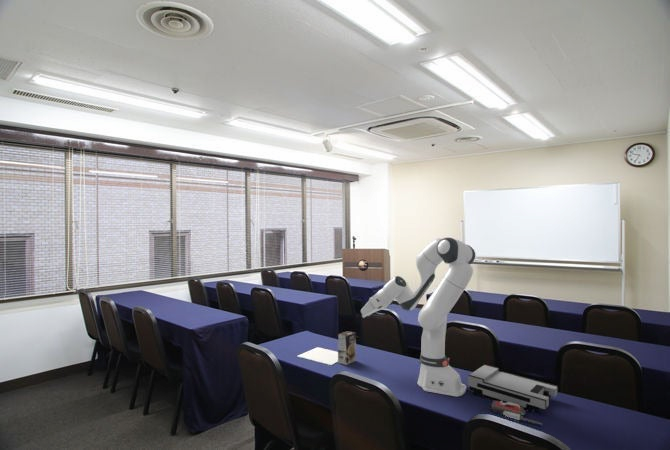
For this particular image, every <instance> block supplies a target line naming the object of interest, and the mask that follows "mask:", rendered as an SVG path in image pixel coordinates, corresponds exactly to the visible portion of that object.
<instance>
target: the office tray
mask: <svg viewBox="0 0 670 450" xmlns="http://www.w3.org/2000/svg"><path fill="white" fill-rule="evenodd" d="M467 386H468V388H469V390H470V391H472V393H473V395H476V396H479V397H482V398H485V399H487V400H491V401H494V400H495V401H500V402H501V401H502V402H504V403H507V402H511V403H514V404H519V405H520V407H523V408H524V410H528V411H531V412H533V413H534V411H537V412H540V410H541V409H542V410H546V409H547V408H548V407H549V406H550V405H549V404H550V398H551V397H553V398H556V397H557V395H558V394H559V385H556V384H553V383H548V382H545V381H541V380H538V379H534V378H529V377H526V376H521V375H519V374H515V373H511V372H507V371H503V370H500V367H497V366H494V365H489V364H486V363H485V364H483V365H482V366H480V367H479V368H477V369H476V370H475V371H473V372H471V373H469V374H468V375H467ZM533 410H534V411H533ZM528 411H527V412H528ZM531 412H530V413H531Z"/></svg>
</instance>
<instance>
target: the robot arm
mask: <svg viewBox="0 0 670 450" xmlns="http://www.w3.org/2000/svg"><path fill="white" fill-rule="evenodd" d="M475 259H476V252H475V249H474V248H473V247H472V246H471V245H469V244H466V243H464V241H461V240H459V239H455V238H453V237H443V238H435V239H433V240H431V242H430V243H428V244H427V245H426V246H425V247H423V248H422V249H421V251H420V252H419V253H418V254H417V256H416V257H415V265H416V268H417V271H418V273H419V276H420V283H419V285H418V286H417V287H416V289H415V291H414V292H413V291H412V290H411V288H410V287H409V286H408V284H407V282H406V280H405V279H404V278H403V277H402V276H399V275H397V276H394V277H392V278H390V279H389V280H388V282H386V283H385V284H384V285H383V287H382V288H381V289H379V290H378V291H377V292H376V293H375V294H374V295H372V296H371V297H369V299H368V301H367V302H366V303H365V305H364V306H363V307H362V308H361V309H360V313H361V317H362V318H363V319H365V318H366V317H369V316H371V315H372V314H373V313H376V312H379V311H381V310H384V309H386V308H387V307H389V305H390V304H391V303H393V300H396V302H397V303H398V304H399V306H400V307H401V309H402V310H404V311H407V312H408V311H409V312H410V311H412V310H414V309H415V308H416V307H417V306H418V303H419V302H420V300H421V299H422V297H423V296H424V295H425V293H426V292H427V291H428V289H429V288H430V286H431V284H433V281H434V280H435V278H436V274H435V273H436V269H437V267H438V266H439V265H440V264H441V263H442V262H444V263H445V264H447V265H448V269H447V271H446V272H445V274H444V276H443V277H442V278H441V280H440V281H439V283H438V285H437V286H436V288H435V289H434V291H433V292H432V294H431V295H430V296H429V297H428V299H427V300H426V302H425V303H424V304H423V306H422V307H421V309H420V311H419V312H418V315H417V316H418V317H417V322H418V324H419V325H420V327H422V334H421V337H420V338H421V339H420V340H421V344H420V345H421V346H420V347H421V348H420V349H421V350H420V351H421V352H420V356H419V365H420V368H419V369H420V370H419V375H418V379H417V383H416V384H417V385H418V386H419V387H421V388H422V389H423V391H425V392H428V393H429V392H430V393H435V394H439V395H446V396H452V397H461V396H463V395H464V394H465V393H466V392H467V386H466V384H464V383H462V378H461V376H460V374H459V372H457V371H456V370H455V369H454V368H453V367H452V366H451V365H450V362H449V361H450V357H447V356H446V354H445V353H446V351H445V349H446V348H445V347H446V344H445V343H446V334H447V322H448V315H449V314H450V311H452V309H453V307H454V306H455V305H456V303H457V302H458V301H459V298H460V297H461V295H462V294H463V292H464V291H465V289H466V288H467V286H468V284H469V283H470V281H471V278H472V276H473V275H474V268H473V267H472V263H474V261H475Z"/></svg>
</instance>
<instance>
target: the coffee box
mask: <svg viewBox="0 0 670 450" xmlns="http://www.w3.org/2000/svg"><path fill="white" fill-rule="evenodd" d="M337 342H338V343H337V352H338V362H337V363H338V364H340V365H341V364H342V365H345V366H348V365H350V364H351V363H355V362H356V359H357V354H356V352H357V347H356V346H357V332H356V331H355V332H354V331H350V330H349V331H348V330H347V331H343V332H341V333H338V340H337Z"/></svg>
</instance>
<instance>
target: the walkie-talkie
mask: <svg viewBox="0 0 670 450" xmlns="http://www.w3.org/2000/svg"><path fill="white" fill-rule="evenodd" d="M490 405H491V406H488V408H487V409H488V410H489V411H491V410H492V411H494V412H493V413H495V412H498V413H497V414H499V413H502V414H503V416H504V415H505V416H504V417H506V416H507V417H510V418H514V419H517V420H520V421H521V420H524V422H526V421H528V422H527V423H530V422H532V423H531V424H536V425H539V426H540V425H541V426H543V422H540V421H536V420H532V419H528V418H525V417H524V415H525V416H526V411H525V410H524V408H523V407H520V405H519V404H514V403H511V402H507V403H504V402H502V401H501V402H500V401H495V400H492V403H491V404H490ZM492 411H491V412H492ZM502 414H501V415H502ZM522 415H523V416H522ZM507 417H506V418H507Z"/></svg>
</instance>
